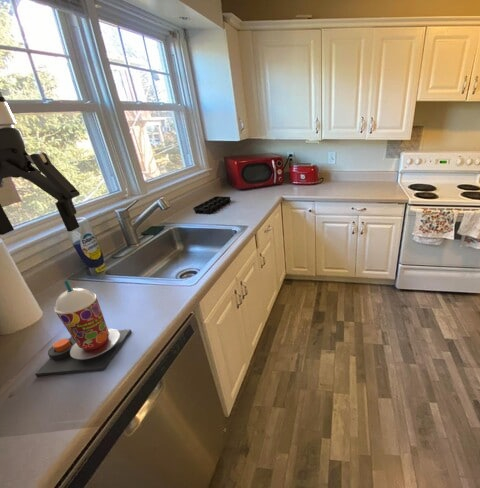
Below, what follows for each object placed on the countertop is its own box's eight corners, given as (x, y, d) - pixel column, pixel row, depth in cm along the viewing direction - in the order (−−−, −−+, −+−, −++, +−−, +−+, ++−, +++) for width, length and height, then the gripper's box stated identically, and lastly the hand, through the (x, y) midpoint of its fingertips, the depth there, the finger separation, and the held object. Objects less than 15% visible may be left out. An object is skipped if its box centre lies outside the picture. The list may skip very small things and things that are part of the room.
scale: (34, 377, 71) (28, 369, 69) (73, 337, 83) (68, 329, 82) (104, 370, 72) (100, 362, 71) (131, 332, 85) (128, 324, 83)
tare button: (52, 352, 74) (49, 347, 74) (61, 343, 77) (58, 339, 77) (65, 351, 75) (62, 346, 74) (73, 342, 78) (71, 337, 77)
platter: (59, 361, 71) (59, 360, 71) (87, 331, 81) (87, 330, 81) (105, 357, 72) (105, 356, 72) (127, 328, 82) (127, 326, 82)
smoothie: (95, 356, 72) (63, 292, 64) (67, 352, 73) (32, 289, 65) (121, 333, 80) (95, 273, 71) (96, 330, 81) (67, 271, 72)
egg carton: (191, 214, 180) (190, 209, 178) (208, 201, 207) (207, 196, 205) (219, 214, 180) (218, 208, 178) (232, 200, 207) (231, 195, 205)
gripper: (-111, 129, 48) (-40, 240, 57) (46, 127, 51) (90, 234, 60) (-62, 127, 55) (-6, 227, 64) (74, 125, 57) (110, 221, 67)
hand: (40, 230), depth 62 cm, fingers open, 13 cm apart
